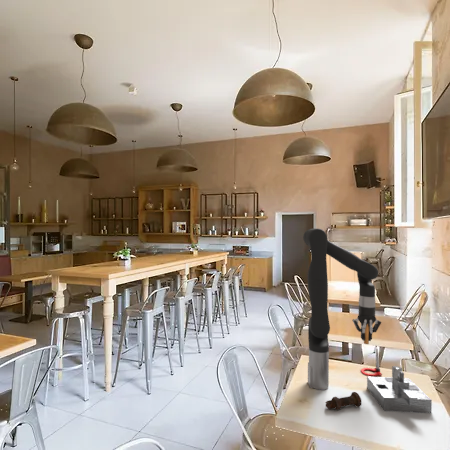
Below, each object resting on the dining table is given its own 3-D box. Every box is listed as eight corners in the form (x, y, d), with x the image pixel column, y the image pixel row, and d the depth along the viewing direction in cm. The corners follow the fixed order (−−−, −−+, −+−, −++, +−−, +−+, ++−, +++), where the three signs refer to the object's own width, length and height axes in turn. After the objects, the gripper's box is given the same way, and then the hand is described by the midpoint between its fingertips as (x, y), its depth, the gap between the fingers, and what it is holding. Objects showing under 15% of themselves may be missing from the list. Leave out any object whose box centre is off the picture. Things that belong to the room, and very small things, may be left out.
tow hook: (364, 377, 166) (383, 377, 165) (363, 351, 166) (381, 351, 165) (358, 370, 174) (376, 369, 174) (357, 346, 174) (375, 345, 174)
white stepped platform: (388, 417, 130) (389, 382, 130) (367, 387, 154) (367, 358, 154) (438, 420, 128) (438, 384, 128) (408, 389, 152) (409, 359, 152)
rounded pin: (364, 344, 158) (365, 323, 158) (363, 342, 160) (363, 322, 160) (369, 344, 158) (369, 323, 158) (367, 342, 160) (368, 322, 160)
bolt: (326, 413, 136) (356, 406, 140) (332, 413, 132) (363, 406, 136) (322, 397, 139) (352, 391, 143) (327, 397, 134) (358, 391, 139)
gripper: (354, 306, 156) (354, 342, 156) (384, 307, 155) (384, 343, 155) (350, 302, 163) (349, 337, 163) (378, 303, 162) (377, 338, 162)
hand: (366, 340), depth 159 cm, fingers closed on rounded pin, 2 cm apart
